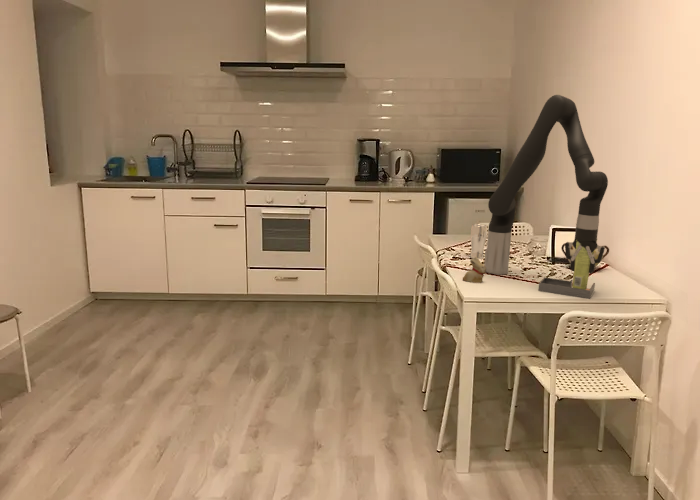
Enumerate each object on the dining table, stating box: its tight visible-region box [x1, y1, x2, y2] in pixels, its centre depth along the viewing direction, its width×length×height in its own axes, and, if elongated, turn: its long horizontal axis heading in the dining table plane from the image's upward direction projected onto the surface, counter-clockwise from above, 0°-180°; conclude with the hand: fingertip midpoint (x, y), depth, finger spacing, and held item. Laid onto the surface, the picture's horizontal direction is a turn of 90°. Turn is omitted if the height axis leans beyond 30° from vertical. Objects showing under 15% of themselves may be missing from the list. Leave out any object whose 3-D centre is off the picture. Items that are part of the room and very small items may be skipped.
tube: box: [572, 240, 594, 290], centre depth 221 cm, size 6×5×20 cm
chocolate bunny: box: [462, 257, 486, 284], centre depth 233 cm, size 6×8×10 cm
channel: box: [538, 276, 596, 300], centre depth 224 cm, size 18×12×3 cm, turn 61°
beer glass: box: [469, 223, 487, 260], centre depth 273 cm, size 7×7×15 cm
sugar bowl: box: [561, 242, 610, 268], centre depth 258 cm, size 20×15×15 cm
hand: (581, 271), depth 221 cm, fingers closed on tube, 5 cm apart
